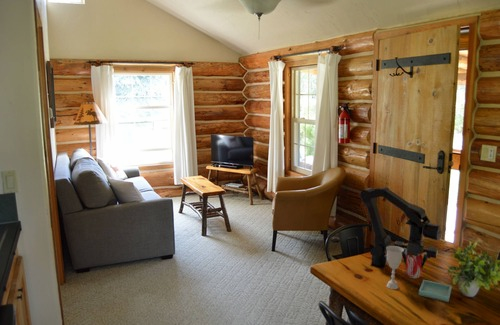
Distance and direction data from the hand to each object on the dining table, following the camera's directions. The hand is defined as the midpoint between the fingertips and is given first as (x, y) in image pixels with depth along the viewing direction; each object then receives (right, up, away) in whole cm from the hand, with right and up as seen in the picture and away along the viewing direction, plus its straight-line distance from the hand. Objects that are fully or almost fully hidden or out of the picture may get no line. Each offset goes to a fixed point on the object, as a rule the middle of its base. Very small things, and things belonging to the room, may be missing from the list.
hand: (413, 266), depth 186 cm
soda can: (0, -5, +1) cm, 5 cm away
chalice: (-13, -7, -8) cm, 17 cm away
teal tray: (+4, -8, -14) cm, 16 cm away
